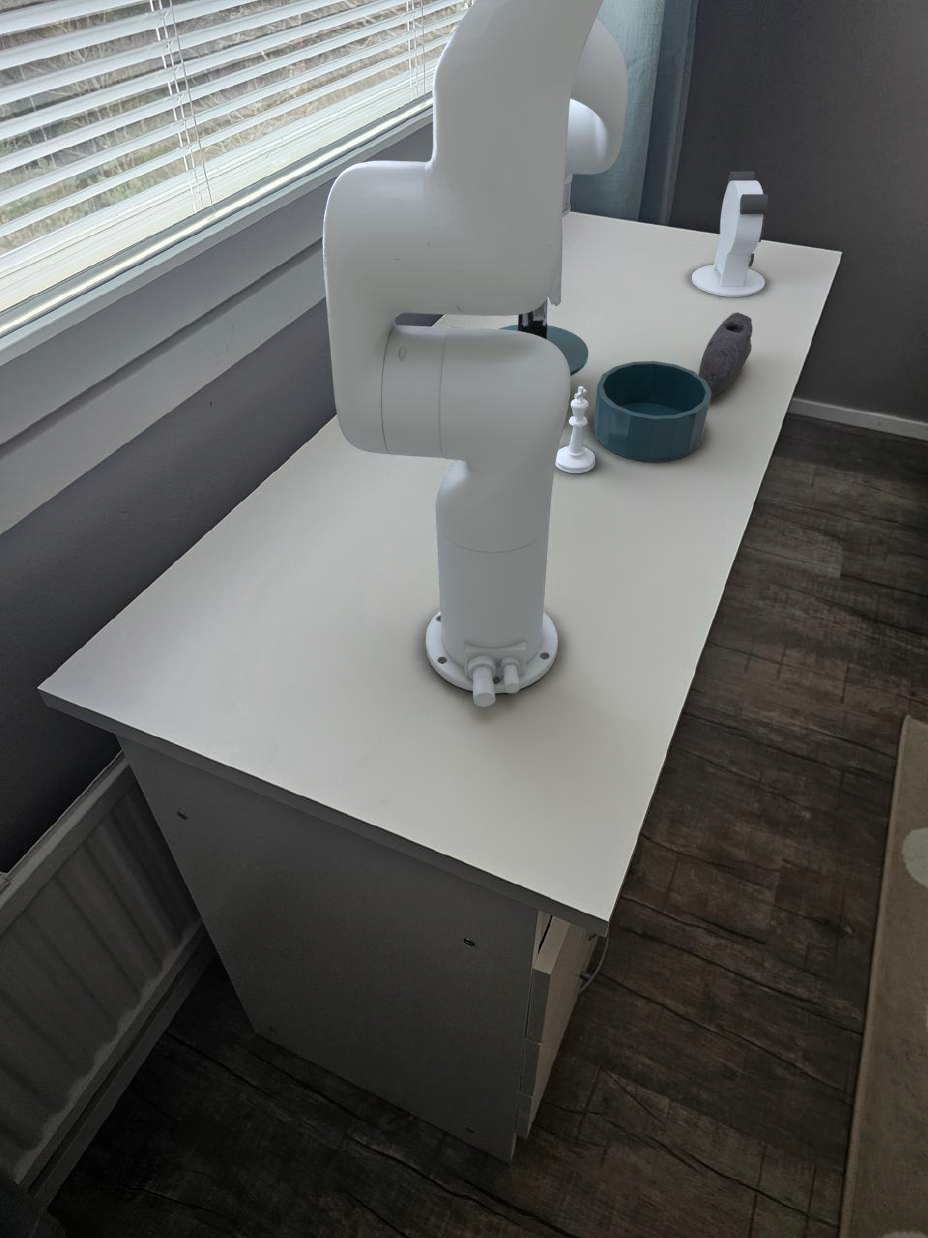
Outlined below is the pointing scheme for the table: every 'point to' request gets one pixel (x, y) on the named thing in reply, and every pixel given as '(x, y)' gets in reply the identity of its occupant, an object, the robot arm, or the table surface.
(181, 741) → the table surface
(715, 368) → the perforated stone tool
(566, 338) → the bowl lid
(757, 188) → the white stand
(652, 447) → the bowl
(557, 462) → the chess piece
